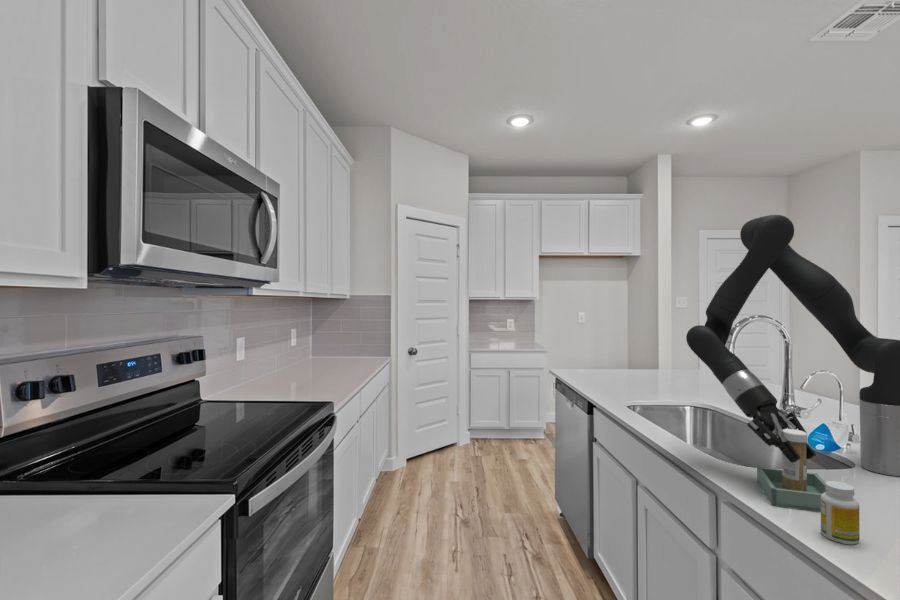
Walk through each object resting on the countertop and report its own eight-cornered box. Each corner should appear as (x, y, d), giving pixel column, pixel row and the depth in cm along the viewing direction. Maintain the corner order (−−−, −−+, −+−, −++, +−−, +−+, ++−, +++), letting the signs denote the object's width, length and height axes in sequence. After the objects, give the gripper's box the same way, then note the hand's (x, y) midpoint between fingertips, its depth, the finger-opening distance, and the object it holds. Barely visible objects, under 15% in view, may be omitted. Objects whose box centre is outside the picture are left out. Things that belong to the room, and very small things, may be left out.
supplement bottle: (813, 532, 84) (812, 481, 84) (835, 528, 86) (834, 477, 86) (845, 547, 79) (844, 492, 79) (867, 543, 80) (866, 489, 81)
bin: (757, 481, 108) (756, 466, 108) (817, 488, 104) (817, 473, 104) (772, 505, 96) (771, 488, 96) (841, 514, 91) (841, 497, 91)
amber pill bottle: (812, 495, 98) (813, 433, 98) (793, 496, 97) (794, 434, 97) (794, 487, 102) (794, 427, 102) (776, 488, 102) (776, 428, 102)
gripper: (738, 386, 104) (796, 455, 93) (779, 381, 109) (838, 446, 98) (717, 404, 109) (770, 472, 98) (757, 399, 114) (811, 462, 103)
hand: (804, 458), depth 98 cm, fingers open, 4 cm apart
